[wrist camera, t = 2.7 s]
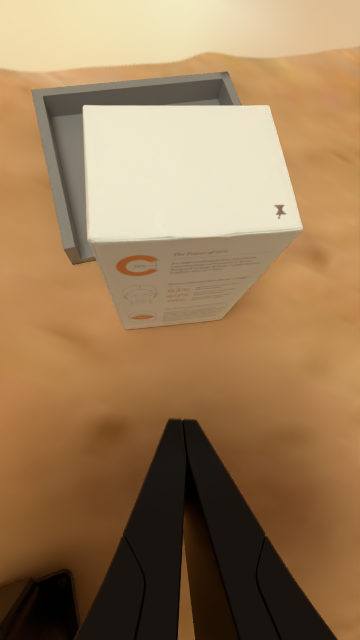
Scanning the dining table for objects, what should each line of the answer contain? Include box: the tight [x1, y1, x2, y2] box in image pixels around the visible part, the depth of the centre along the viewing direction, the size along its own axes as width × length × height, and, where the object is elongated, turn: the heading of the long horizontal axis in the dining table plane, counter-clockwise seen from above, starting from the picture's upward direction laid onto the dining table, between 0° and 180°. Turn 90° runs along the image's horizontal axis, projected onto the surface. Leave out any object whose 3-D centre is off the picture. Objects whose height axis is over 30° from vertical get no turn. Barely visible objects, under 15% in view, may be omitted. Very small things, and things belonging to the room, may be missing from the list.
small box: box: [83, 105, 303, 330], centre depth 17 cm, size 8×6×13 cm
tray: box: [31, 72, 242, 264], centre depth 25 cm, size 15×18×2 cm
